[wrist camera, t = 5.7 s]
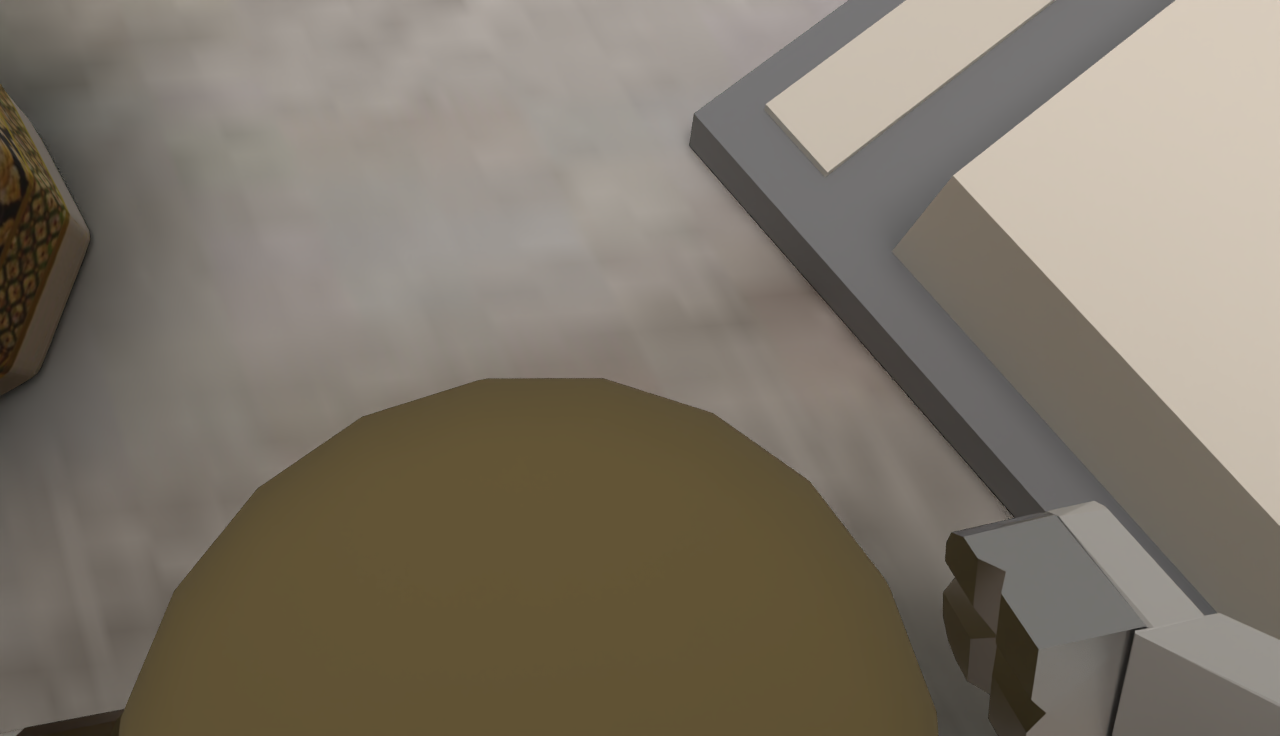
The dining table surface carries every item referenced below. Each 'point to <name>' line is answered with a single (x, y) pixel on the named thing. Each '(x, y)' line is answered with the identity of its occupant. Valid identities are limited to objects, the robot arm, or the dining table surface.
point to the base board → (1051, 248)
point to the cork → (533, 585)
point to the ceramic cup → (32, 246)
